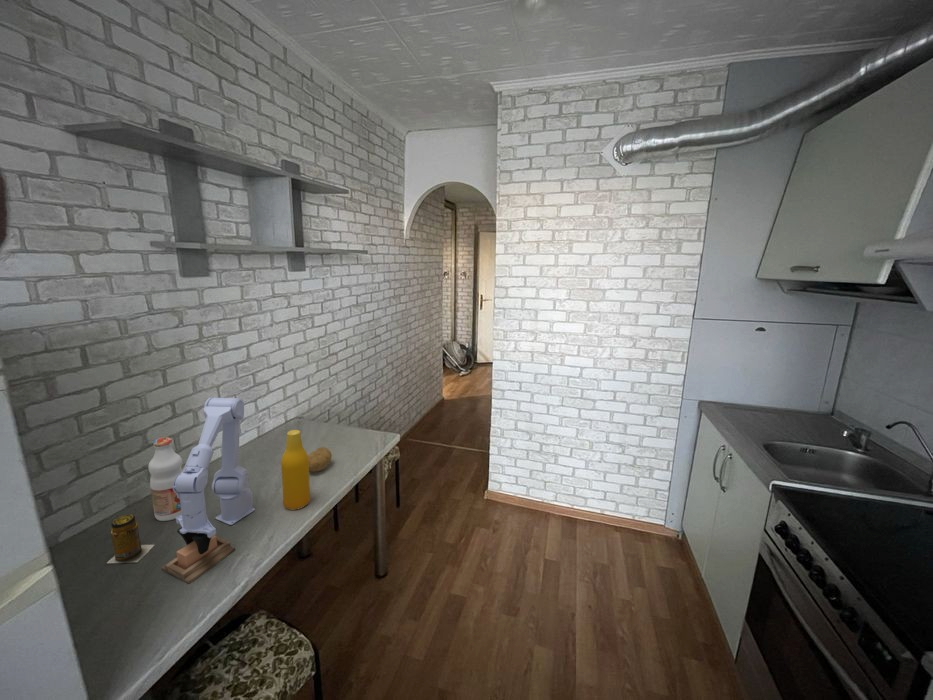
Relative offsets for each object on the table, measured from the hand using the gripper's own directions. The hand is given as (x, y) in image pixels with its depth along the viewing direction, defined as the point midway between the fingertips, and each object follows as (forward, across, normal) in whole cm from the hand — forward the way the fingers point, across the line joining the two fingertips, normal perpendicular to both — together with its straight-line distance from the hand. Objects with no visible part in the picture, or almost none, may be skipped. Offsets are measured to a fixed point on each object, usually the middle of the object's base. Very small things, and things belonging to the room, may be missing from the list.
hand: (198, 549), depth 113 cm
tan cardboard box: (+3, 0, 0) cm, 3 cm away
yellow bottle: (+4, +5, +33) cm, 34 cm away
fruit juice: (+4, -29, +10) cm, 31 cm away
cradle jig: (+4, 0, 0) cm, 4 cm away
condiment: (+4, -20, -7) cm, 22 cm away
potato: (+4, -5, +55) cm, 55 cm away
